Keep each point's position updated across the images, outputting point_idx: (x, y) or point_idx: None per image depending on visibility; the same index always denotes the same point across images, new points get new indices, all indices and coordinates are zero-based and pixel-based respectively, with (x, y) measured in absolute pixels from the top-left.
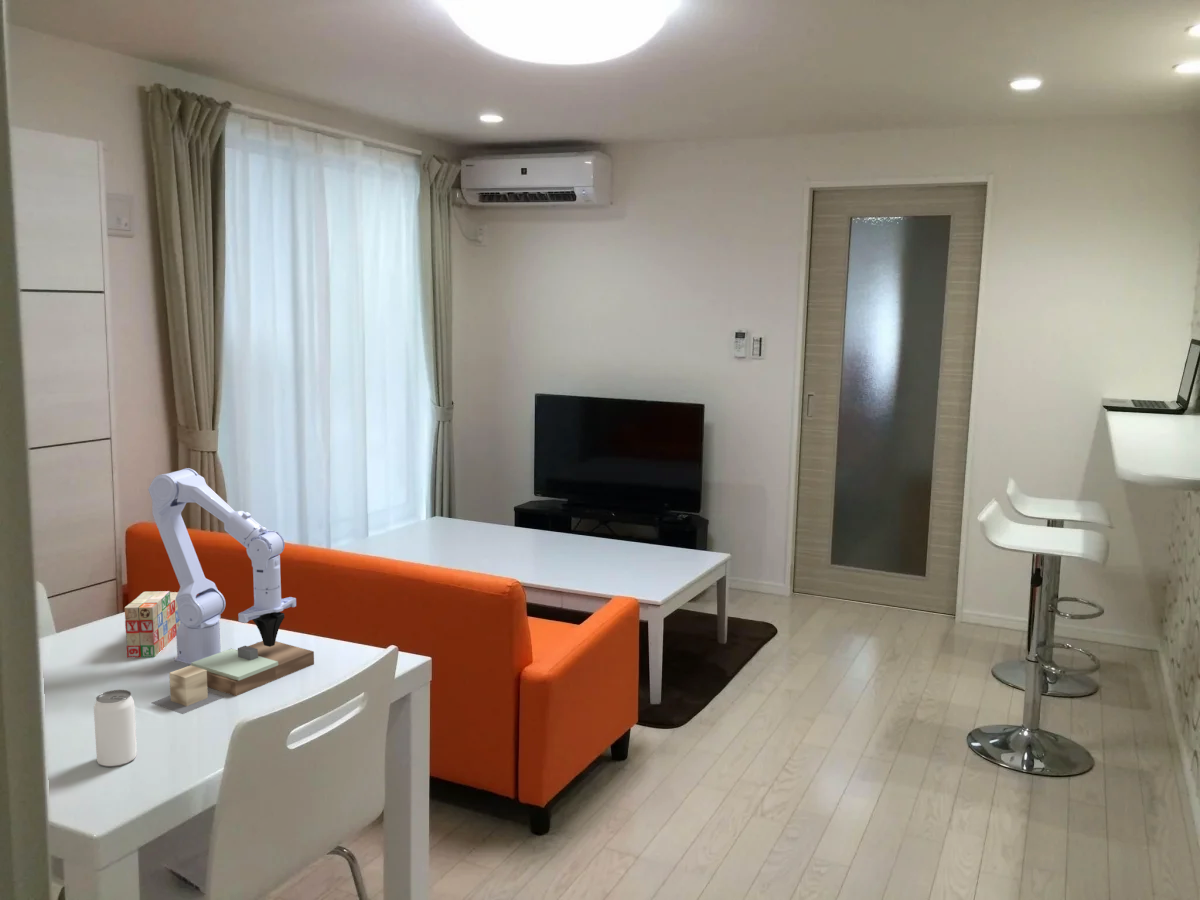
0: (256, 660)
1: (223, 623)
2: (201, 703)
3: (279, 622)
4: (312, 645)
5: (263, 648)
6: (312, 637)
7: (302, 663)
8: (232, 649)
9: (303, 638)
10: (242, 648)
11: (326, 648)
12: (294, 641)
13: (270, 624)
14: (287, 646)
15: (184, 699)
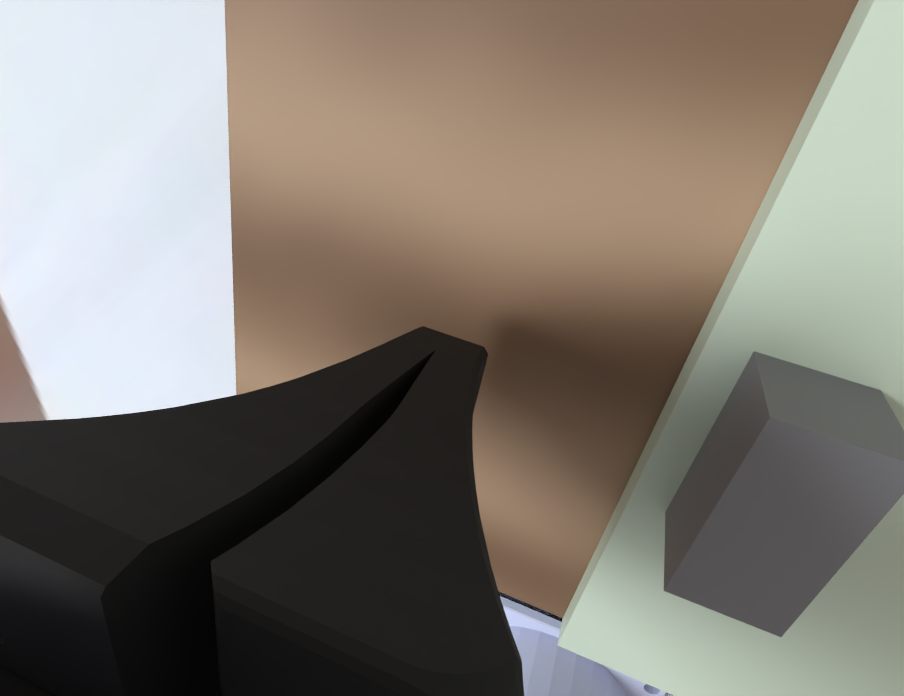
0: (868, 321)
1: None
2: None
3: (179, 440)
4: (66, 224)
5: None
6: (4, 297)
7: None
8: (577, 634)
9: (45, 337)
10: (786, 591)
11: (32, 88)
12: (99, 362)
13: (418, 563)
14: (268, 264)
15: None
